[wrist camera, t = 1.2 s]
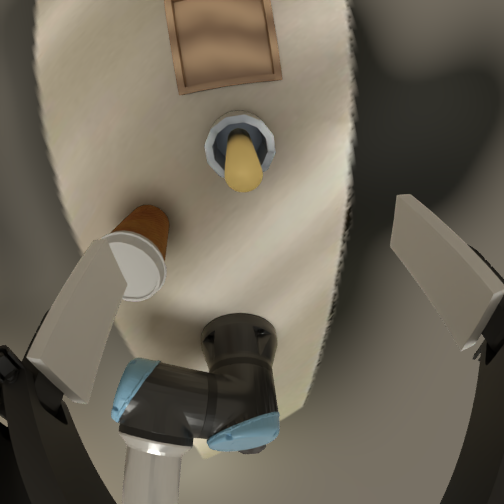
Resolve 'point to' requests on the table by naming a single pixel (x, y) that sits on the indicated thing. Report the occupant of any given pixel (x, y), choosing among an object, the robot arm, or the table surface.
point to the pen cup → (219, 136)
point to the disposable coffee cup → (141, 251)
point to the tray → (222, 43)
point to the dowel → (242, 162)
